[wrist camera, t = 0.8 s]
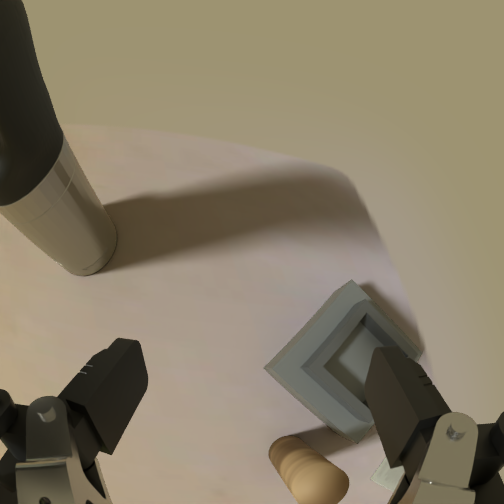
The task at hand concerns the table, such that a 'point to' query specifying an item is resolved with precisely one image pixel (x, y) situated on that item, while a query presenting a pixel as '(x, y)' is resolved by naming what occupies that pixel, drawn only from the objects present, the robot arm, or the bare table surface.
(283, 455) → the cardboard roll
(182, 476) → the table surface
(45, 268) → the table surface
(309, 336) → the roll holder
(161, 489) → the table surface
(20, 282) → the table surface
